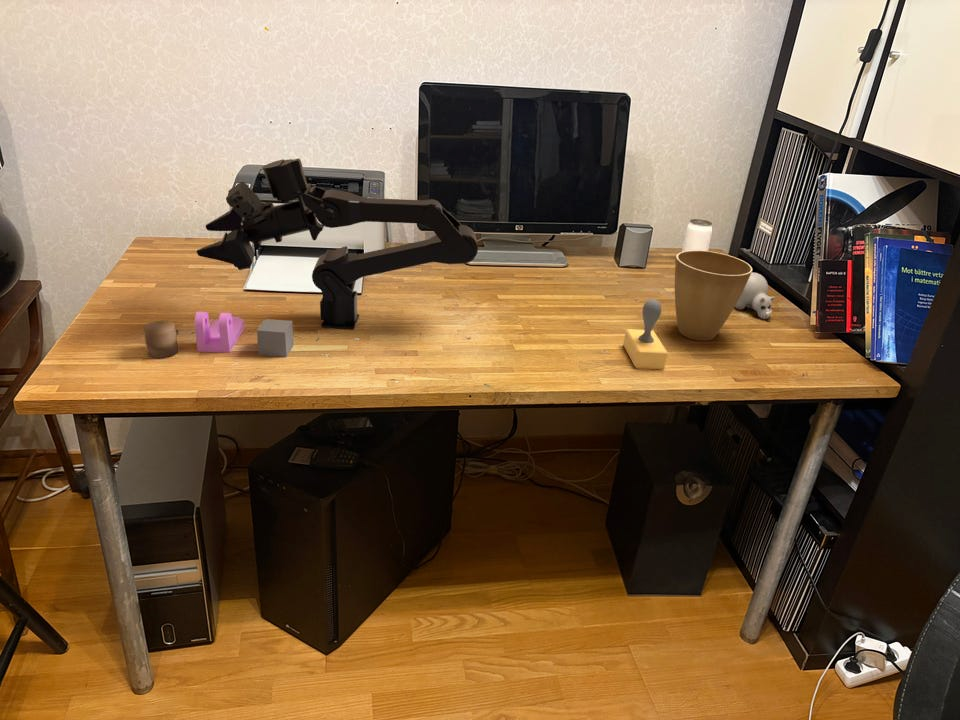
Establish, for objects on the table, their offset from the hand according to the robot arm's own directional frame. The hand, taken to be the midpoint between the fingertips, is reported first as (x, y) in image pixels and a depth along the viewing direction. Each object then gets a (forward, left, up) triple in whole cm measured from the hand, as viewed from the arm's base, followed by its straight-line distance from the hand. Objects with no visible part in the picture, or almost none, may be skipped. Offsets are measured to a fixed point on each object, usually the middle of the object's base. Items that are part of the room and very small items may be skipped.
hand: (202, 240), depth 132 cm
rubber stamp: (-85, +4, -16) cm, 87 cm away
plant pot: (-99, -9, -16) cm, 101 cm away
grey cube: (-16, +12, -16) cm, 26 cm away
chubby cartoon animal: (-115, -24, -16) cm, 119 cm away
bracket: (-5, +8, -16) cm, 19 cm away
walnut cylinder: (+3, +16, -16) cm, 23 cm away
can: (-109, -54, -16) cm, 123 cm away
